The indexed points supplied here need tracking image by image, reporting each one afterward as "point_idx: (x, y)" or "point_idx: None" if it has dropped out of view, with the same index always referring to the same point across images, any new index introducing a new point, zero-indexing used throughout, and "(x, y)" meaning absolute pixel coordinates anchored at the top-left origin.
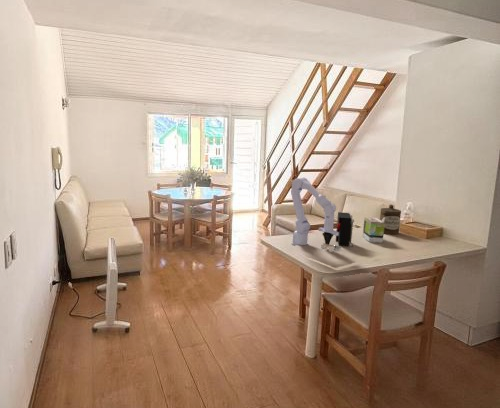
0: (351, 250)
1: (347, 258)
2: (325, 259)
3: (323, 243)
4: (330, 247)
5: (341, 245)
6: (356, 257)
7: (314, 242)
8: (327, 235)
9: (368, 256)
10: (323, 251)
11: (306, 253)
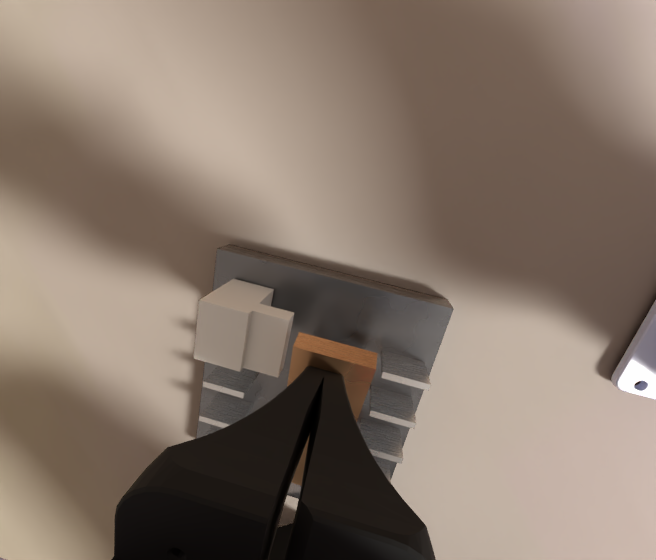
0: None
1: (62, 264)
2: (166, 5)
3: (371, 364)
4: (223, 302)
5: (281, 551)
6: (43, 354)
7: (611, 539)
8: (184, 459)
9: (17, 443)
10: None
11: (505, 11)
